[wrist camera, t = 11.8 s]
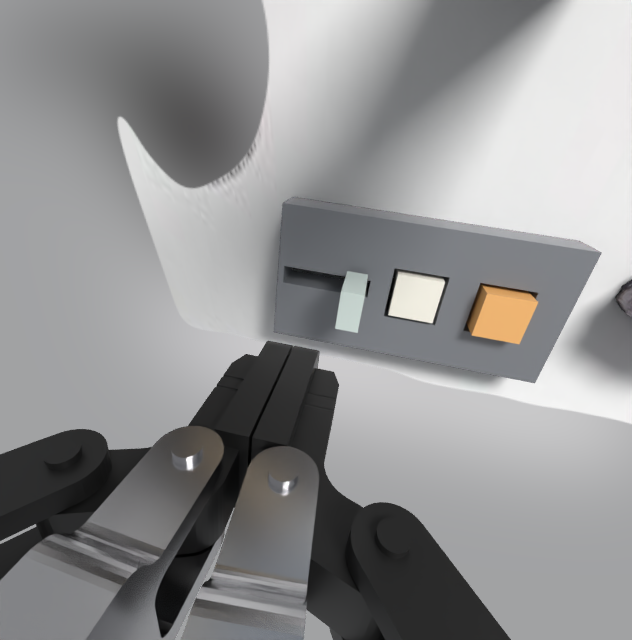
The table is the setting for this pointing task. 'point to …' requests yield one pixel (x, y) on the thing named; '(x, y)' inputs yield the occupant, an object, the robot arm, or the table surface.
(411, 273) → the cream button
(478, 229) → the switch panel
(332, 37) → the table surface
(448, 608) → the robot arm
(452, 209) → the table surface
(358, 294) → the pale green rectangular block
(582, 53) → the table surface
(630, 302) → the geode
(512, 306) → the orange button
